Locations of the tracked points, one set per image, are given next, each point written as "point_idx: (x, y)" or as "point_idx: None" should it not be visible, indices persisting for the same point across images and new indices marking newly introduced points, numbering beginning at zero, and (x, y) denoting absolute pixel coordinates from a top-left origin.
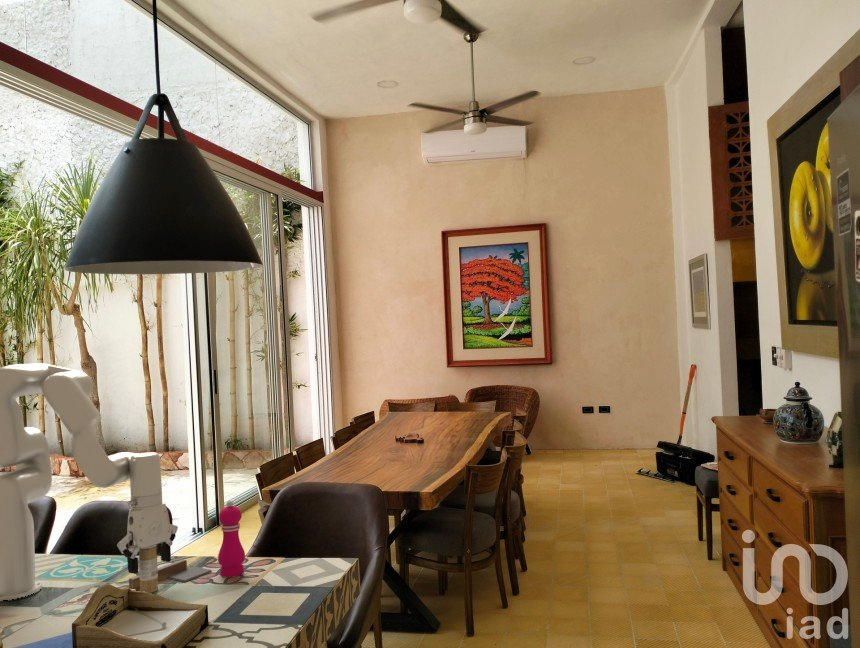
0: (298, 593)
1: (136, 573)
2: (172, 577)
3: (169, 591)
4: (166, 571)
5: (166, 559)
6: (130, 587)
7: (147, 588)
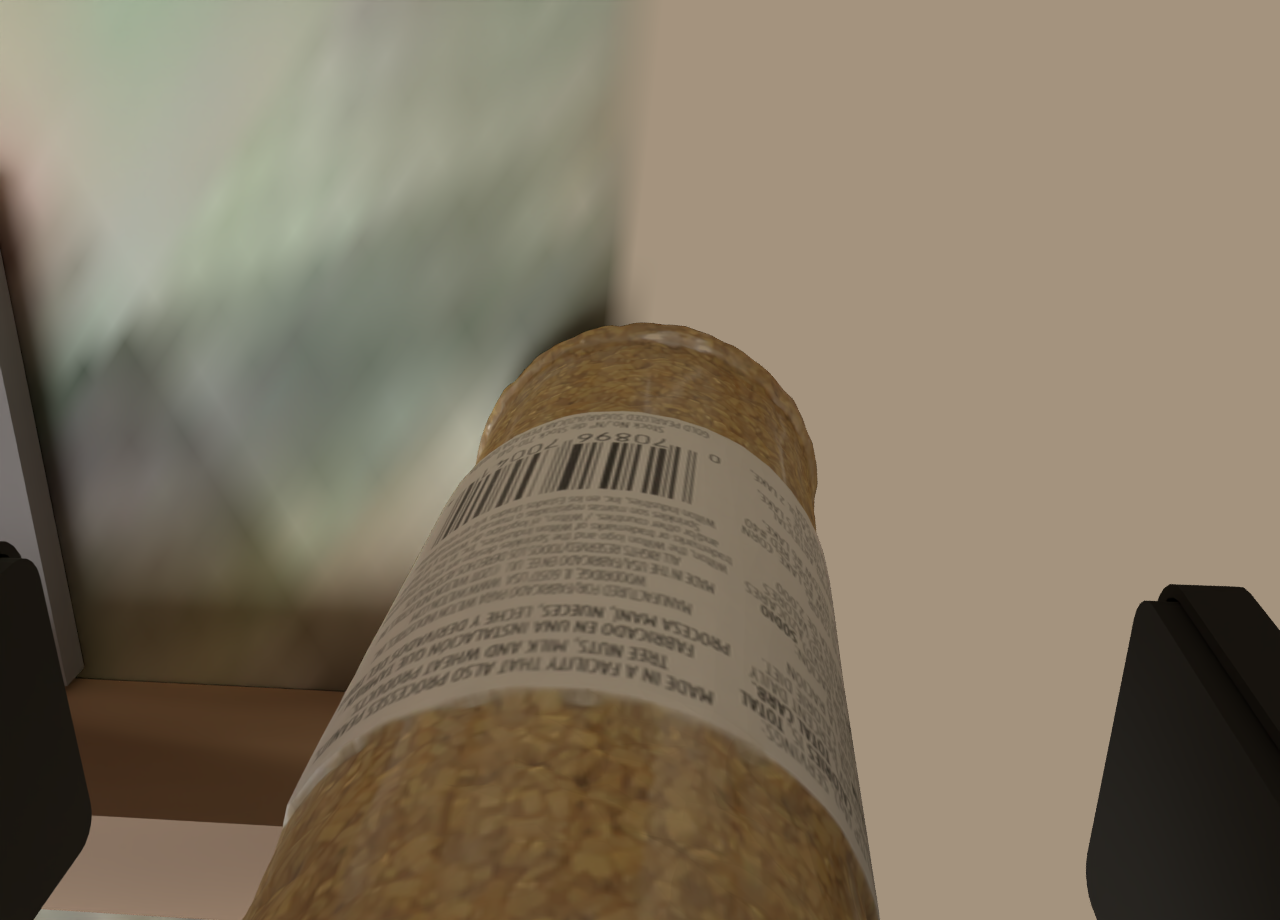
0: None
1: (1221, 587)
2: (41, 569)
3: (473, 52)
4: None
5: (13, 653)
6: None
7: (768, 408)
